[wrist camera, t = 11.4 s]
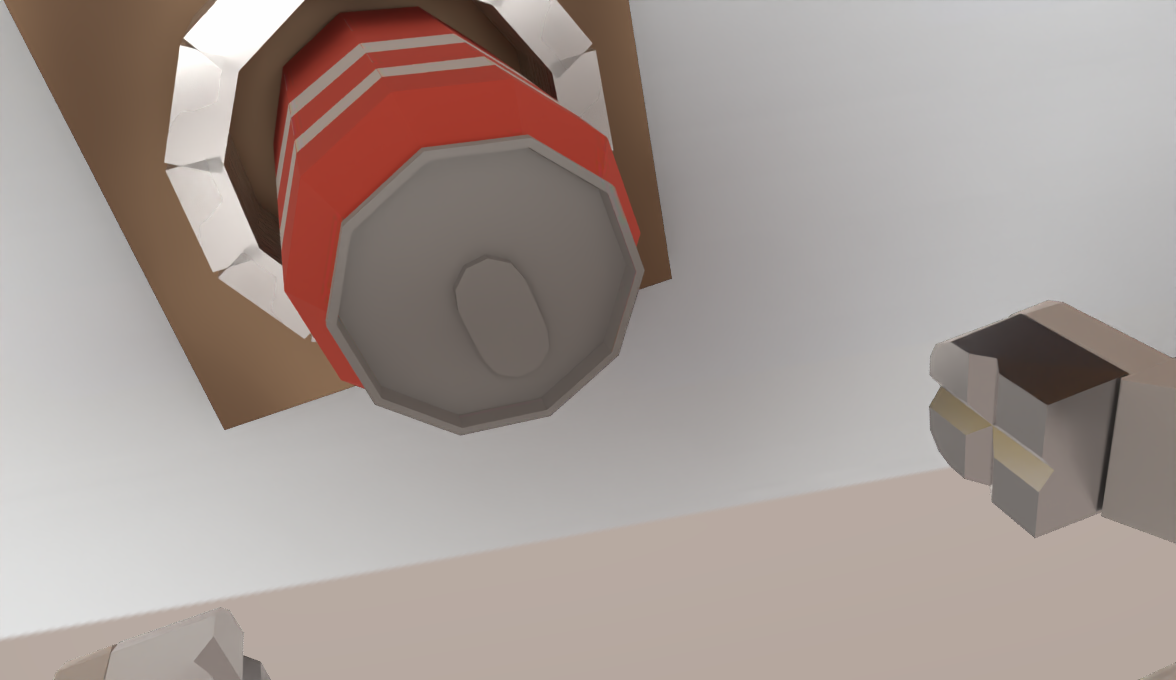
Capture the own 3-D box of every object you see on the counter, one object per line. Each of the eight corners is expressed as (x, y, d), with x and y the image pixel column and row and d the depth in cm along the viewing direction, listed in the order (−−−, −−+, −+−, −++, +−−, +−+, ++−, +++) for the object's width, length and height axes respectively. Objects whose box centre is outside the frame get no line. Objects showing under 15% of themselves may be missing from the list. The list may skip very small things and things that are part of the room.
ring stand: (576, -244, 22) (589, -250, 22) (659, 267, 30) (671, 278, 29) (-42, -114, 20) (-55, -114, 19) (225, 413, 27) (224, 430, 26)
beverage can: (347, 265, 25) (408, 517, 15) (227, 57, 22) (204, 207, 12) (532, 177, 26) (708, 363, 16) (444, -39, 23) (597, 27, 13)
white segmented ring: (523, -125, 22) (563, -126, 19) (596, 238, 28) (637, 280, 25) (105, -27, 20) (80, -12, 17) (271, 342, 26) (273, 402, 23)
